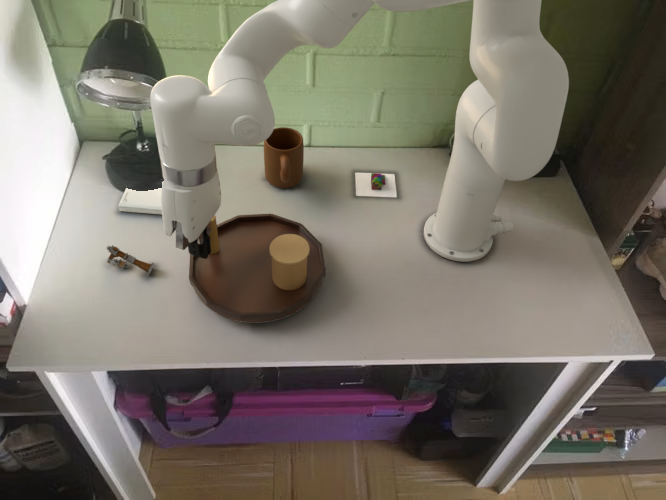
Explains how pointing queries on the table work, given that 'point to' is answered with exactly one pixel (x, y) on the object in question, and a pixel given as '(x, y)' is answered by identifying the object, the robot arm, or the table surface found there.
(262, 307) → the tray
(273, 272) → the tan cylinder
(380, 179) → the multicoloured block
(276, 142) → the mug
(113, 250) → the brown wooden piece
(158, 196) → the hard drive
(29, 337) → the table surface
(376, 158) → the table surface
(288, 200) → the table surface
